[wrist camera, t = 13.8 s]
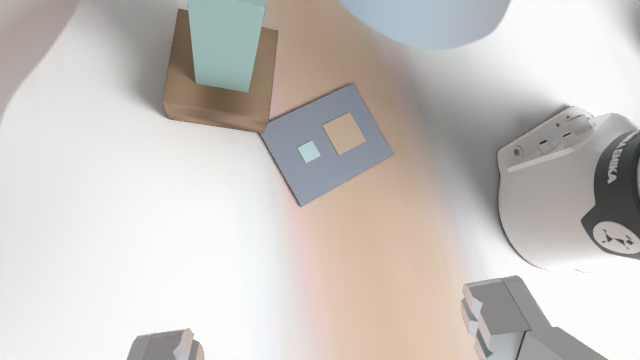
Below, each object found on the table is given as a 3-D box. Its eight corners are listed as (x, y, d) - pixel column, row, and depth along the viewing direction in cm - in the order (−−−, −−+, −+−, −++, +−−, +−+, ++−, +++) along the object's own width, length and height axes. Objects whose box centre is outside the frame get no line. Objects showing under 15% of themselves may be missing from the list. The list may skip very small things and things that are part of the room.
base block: (272, 52, 40) (278, 30, 36) (263, 133, 37) (269, 119, 34) (182, 34, 37) (178, 8, 34) (167, 118, 35) (162, 101, 32)
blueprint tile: (352, 84, 42) (353, 82, 41) (392, 154, 41) (394, 153, 41) (256, 128, 38) (257, 127, 37) (300, 207, 38) (301, 206, 37)
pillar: (253, 48, 35) (272, -55, 23) (248, 92, 34) (265, 7, 22) (202, 37, 34) (197, -76, 22) (195, 83, 33) (185, -12, 21)
